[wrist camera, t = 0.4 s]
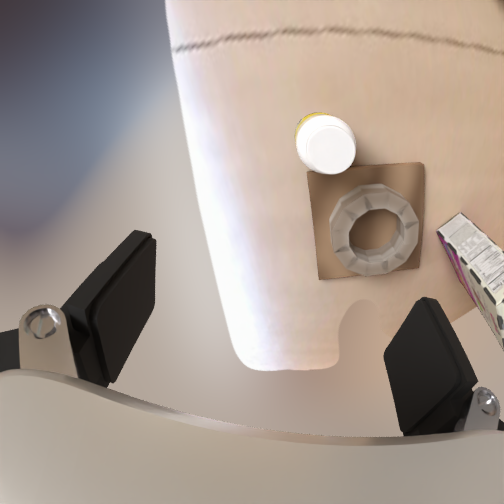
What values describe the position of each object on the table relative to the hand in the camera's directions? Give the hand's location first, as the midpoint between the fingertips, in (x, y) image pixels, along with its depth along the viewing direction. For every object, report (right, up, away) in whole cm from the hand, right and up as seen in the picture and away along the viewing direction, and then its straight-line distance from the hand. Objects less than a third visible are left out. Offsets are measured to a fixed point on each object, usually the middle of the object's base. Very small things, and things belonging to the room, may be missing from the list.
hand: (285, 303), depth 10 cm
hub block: (+13, +5, +25) cm, 28 cm away
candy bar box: (+28, +2, +24) cm, 38 cm away
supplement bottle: (+6, +14, +21) cm, 26 cm away
